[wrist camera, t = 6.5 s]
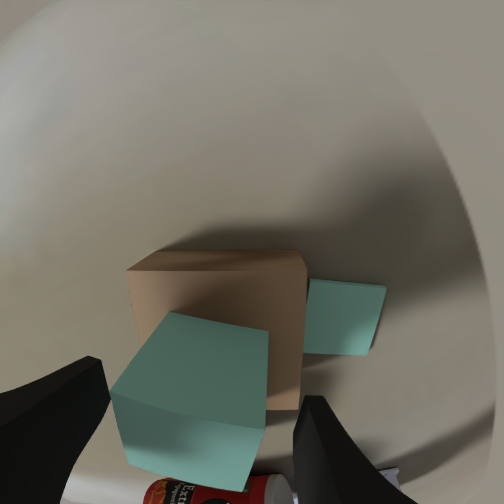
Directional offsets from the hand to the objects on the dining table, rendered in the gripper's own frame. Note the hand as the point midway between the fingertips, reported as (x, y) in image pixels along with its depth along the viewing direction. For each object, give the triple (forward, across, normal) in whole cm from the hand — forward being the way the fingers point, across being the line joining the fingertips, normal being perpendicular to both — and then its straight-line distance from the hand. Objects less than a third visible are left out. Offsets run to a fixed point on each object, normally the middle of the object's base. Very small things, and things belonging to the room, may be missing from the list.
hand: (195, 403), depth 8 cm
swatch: (+6, -6, -1) cm, 8 cm away
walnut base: (+6, 0, 0) cm, 6 cm away
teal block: (+3, 0, 0) cm, 3 cm away
